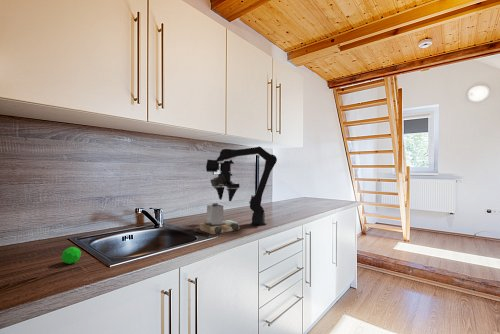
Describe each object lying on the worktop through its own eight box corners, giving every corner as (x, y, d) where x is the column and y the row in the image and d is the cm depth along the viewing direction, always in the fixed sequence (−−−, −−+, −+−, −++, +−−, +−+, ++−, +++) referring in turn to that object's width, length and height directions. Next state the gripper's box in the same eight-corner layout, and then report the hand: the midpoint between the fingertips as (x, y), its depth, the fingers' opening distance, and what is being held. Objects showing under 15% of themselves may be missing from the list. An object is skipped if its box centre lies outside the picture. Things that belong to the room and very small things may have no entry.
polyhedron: (80, 263, 78) (81, 248, 78) (61, 267, 75) (61, 251, 75) (80, 259, 82) (80, 244, 82) (61, 262, 79) (62, 247, 79)
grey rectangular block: (217, 226, 126) (218, 202, 126) (223, 228, 121) (223, 203, 121) (206, 227, 123) (207, 203, 123) (211, 230, 118) (212, 204, 118)
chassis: (226, 225, 134) (226, 219, 134) (240, 229, 124) (240, 223, 124) (198, 229, 123) (198, 223, 123) (212, 234, 113) (212, 227, 113)
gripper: (203, 171, 139) (203, 199, 138) (222, 172, 124) (222, 203, 124) (220, 171, 146) (220, 198, 146) (240, 172, 132) (240, 201, 131)
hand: (225, 200), depth 137 cm, fingers open, 9 cm apart
